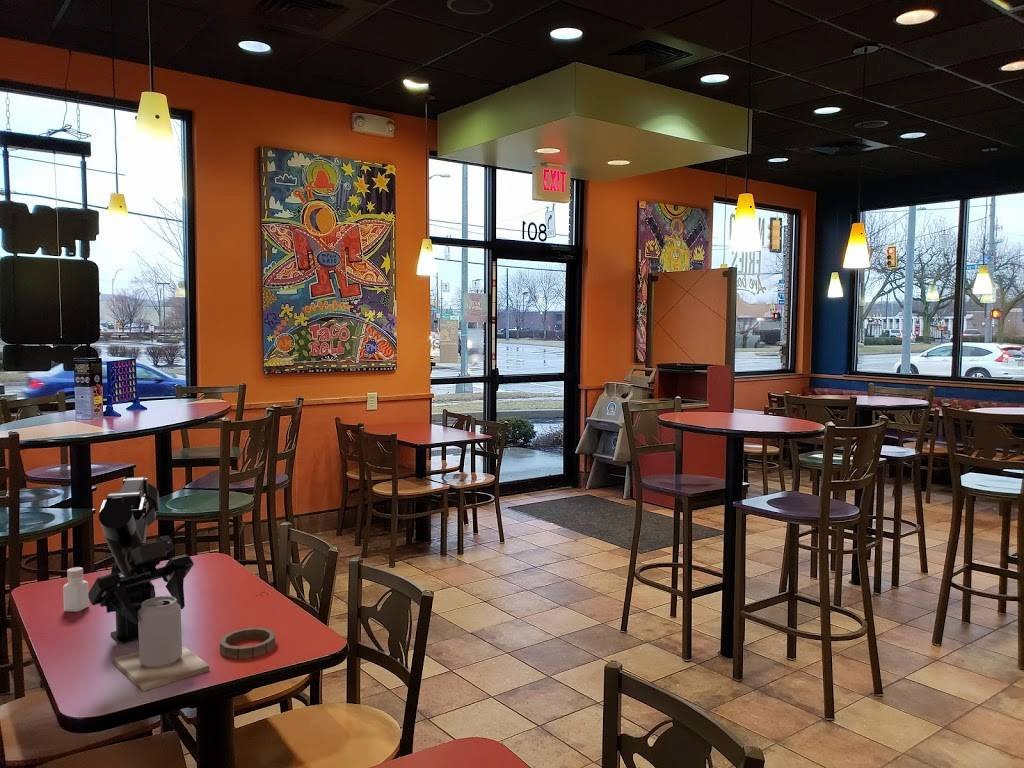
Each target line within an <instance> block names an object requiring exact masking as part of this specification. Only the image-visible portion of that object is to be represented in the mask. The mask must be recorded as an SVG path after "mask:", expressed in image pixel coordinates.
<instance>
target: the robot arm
mask: <svg viewBox="0 0 1024 768" xmlns="http://www.w3.org/2000/svg"><path fill="white" fill-rule="evenodd" d="M160 506H161V504H160V495H159V489H158V488H156V487H155V486H153V485H152V484H151V483H149V478H148V477H145V476H140V477H126V478H124V479H123V480H122V486H121V487H120V489H119V490H118V491H115V492H110V493H108V494H107V496H106V498H105V499H103V500H102V503H101V506H100V509H99V512H98V521H99V523H100V526H101V529H102V532H103V534H104V535H103V536H104V537H103V538H104V539H105V541H106V544H107V546H108V547H109V548H108V549H110V552H111V554H112V556H113V558H114V562H113V565H112V567H111V571H110V574H107V575H106V574H105V575H103V576H98V577H96V579H95V581H94V583H93V584H92V586H91V588H90V589H89V593H88V597H89V603H90V604H91V605H92V606H95V605H96V606H97V605H99V606H100V607H102V608H103V607H105V608H106V609H105V610H106V613H107V614H108V613H113V612H115V630H114V631H111V632H110V637H112V638H113V639H114V640H115V641H116V642H117V643H119V644H123V643H124V644H125V643H127V642H131V641H135V640H139V632H138V622H139V619H138V611H139V610H140V609H141V607H142V606H141V604H142V602H144V601H145V600H147V599H150V598H154V597H157V595H156V588H155V586H154V584H153V583H152V581H155V580H158V579H161V578H162V580H163V582H164V583H166V584H165V588H166V589H167V591H168V593H169V594H170V596H172V597H175V598H176V599H177V601H176V602H177V603H178V604H179V605H180V606H181V610H183V609H185V607H186V605H185V592H184V591H185V589H184V581H185V580H184V579H185V578H186V577H187V575H188V573H190V570H191V569H192V568H193V567H194V564H195V563H194V560H193V559H192V557H191V556H190V555H188V554H183V555H179V556H175V557H172V558H171V557H170V558H169V559H168V561H167V562H166V564H165V565H164V566H162V567H158V568H157V567H156V566H158V565H160V563H161V558H163V557H166V558H167V556H168V553H170V552H171V551H174V543H173V540H172V539H171V537H170V536H169V535H163V536H159V537H158V538H156V541H152V542H147V541H146V540H147V533H148V527H149V526H150V525H152V524H153V523H154V522H155V521H156V518H157V512H158V513H159V512H160Z"/></svg>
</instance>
